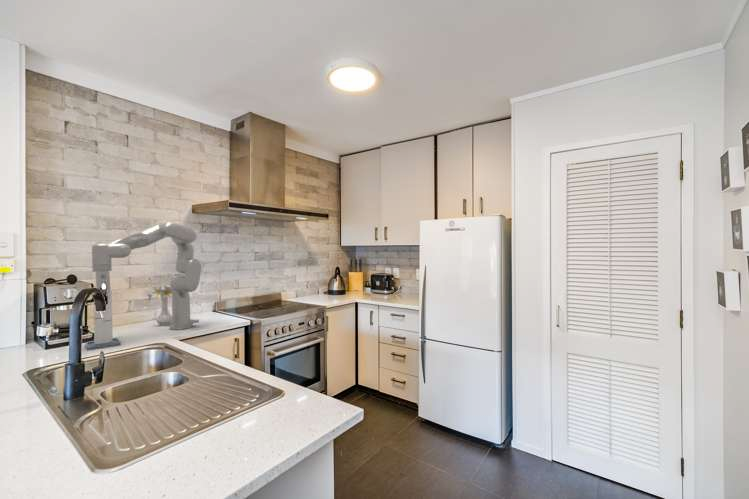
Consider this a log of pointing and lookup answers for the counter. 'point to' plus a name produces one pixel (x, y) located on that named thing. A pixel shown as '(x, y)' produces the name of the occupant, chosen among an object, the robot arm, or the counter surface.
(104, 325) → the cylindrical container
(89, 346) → the slate tray
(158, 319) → the flower vase
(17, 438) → the counter surface
